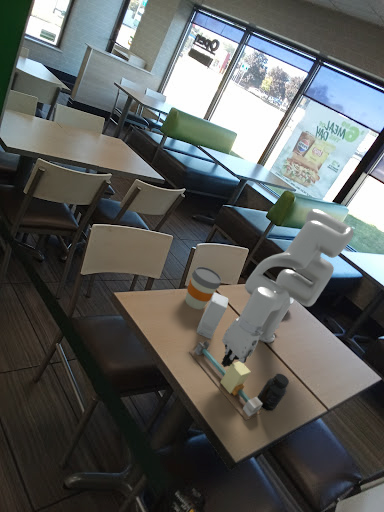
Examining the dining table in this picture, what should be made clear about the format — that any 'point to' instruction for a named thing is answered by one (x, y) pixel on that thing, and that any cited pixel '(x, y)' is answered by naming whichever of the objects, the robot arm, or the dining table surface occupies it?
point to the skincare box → (212, 315)
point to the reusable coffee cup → (202, 287)
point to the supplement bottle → (273, 392)
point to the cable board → (216, 373)
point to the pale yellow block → (235, 376)
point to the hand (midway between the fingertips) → (225, 364)
